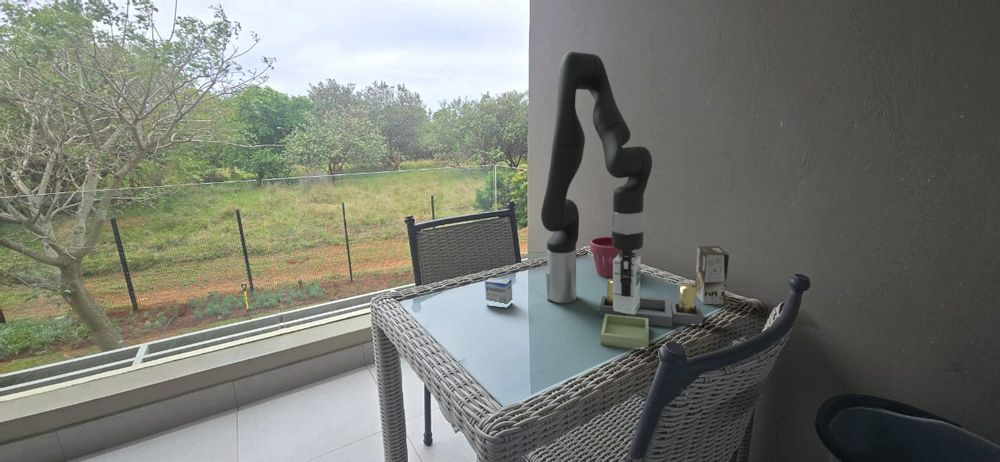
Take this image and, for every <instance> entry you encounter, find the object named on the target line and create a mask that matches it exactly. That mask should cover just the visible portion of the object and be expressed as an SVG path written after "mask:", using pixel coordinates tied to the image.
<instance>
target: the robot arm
mask: <svg viewBox="0 0 1000 462" xmlns="http://www.w3.org/2000/svg"><path fill="white" fill-rule="evenodd" d="M577 90H582V91H583V90H585V91H587V90H588V91H589V93H590V94H591V95H592V97H593V99H594V107H593V112H592V122H593V126H594V129H595V131H596V133H597V136H598V137H599V140H600V142H601V144H602V149H603V156H604V162H605V163H604V164H605V169H606V171H607V172H608V173H609V174H610V175H611V176H612V177H613V178H617V179H623V178H627V180H626V183H625V184H623V185H621V186H619V187H617V188H616V189H614V191H613V200H612V201H613V203H612V204H613V206H612V207H613V209H612V210H613V211H612V218H611V219H612V220H611V237H612V246H613V247H614V248H616V249H620V250H622V252H619V259H622V261H621V262H620V264H619V272H620V273H621V279H620V281H621V295H622V296H625V297H630V295H631V282H632V280H631V274H633V272H634V270H633V269H631V265H632V263H631V260H635V254H636V252H634V251H637V250H641V249H642V248H643V246H644V230H645V229H644V228H645V219H644V218H645V217H644V194H645V191H646V189H647V185H648V181H649V179H650V176H651V172H652V168H653V158H652V154H651V152H650V150H649V149H648V148H647V147H646V146H629V147H623V146H625V145H626V144H627V143H628V142H629V141H630V139H631V136H632V135H631V131H630V128H629V126H628V124H627V122H626V121H625V119H624V118H623V115H622V113H621V112H620V110H619V108H618V106H617V102H616V100H615V97H614V94H613V89H612V87H611V84H610V80H609V77H608V74H607V70H606V68H605V65H604V62H603V60H602V59H601V57H600V56H598V55H597V54H593V53H586V52H578V51H567V52H566V53H565V54H564V55H563V57H562V59H561V61H560V64H559V69H558V79H557V97H556V98H557V103H556V105H557V106H556V116H555V123H554V133H553V139H552V146H551V155H550V163H549V171H548V176H547V178H548V179H547V185H546V190H545V194H544V199H543V202H542V203H543V204H542V207H541V212H540V216H541V217H540V218H541V219H540V220H541V223H542V225H543V227H544V229H546V230H547V231H549V232H553V234H552V235H551V236H550V238H549V239H548V240H547V243H546V251H547V252H546V254H547V272H546V276H545V277H546V300H547V299H549V300H548V301H551V300H552V301H551V302H553V301H554V302H553V303H556V302H557V304H569V303H573V302H575V301H576V300H577V242H578V240H579V229H580V225H579V224H580V214H579V213H580V212H579V209H578V206H577V205H576V203H575V202H574V201H573V200H571V199H569V198H567V194H568V191H569V189H570V187H571V184H572V181H573V179H574V178H575V177H576V174H577V173H578V171H579V169H580V166H581V164H582V161H583V156H584V151H585V145H586V143H585V141H586V136H585V133H584V129H583V127H582V124H581V121H580V118H579V117H578V113H577V109H576V96H577ZM623 275H629V278H623Z"/></svg>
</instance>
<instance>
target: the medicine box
mask: <svg viewBox="0 0 1000 462" xmlns="http://www.w3.org/2000/svg"><path fill="white" fill-rule="evenodd" d="M484 288H485V289H484V290H485V301H486V300H489V301H494V302H499V303H504V304H508V303H509V302H510V301H511V300H513V283H512V279H509V278H498V277H489V278H488V279H486V280H485V281H484Z"/></svg>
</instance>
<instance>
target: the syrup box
mask: <svg viewBox="0 0 1000 462" xmlns="http://www.w3.org/2000/svg"><path fill="white" fill-rule="evenodd" d="M641 258H642V257H641V255H640V254H636V253H635V260H631V263H632V265H631V269H633V270H634V272H633V274H631V280H632V282H631V295H630V297H625V296H622V295H621V281H620V279H621V273H620V272H619V264H620V262H621V261H622V259H619V254H618V255H617V256H616V257H615V258H614V259H613V277H612V278H613V310H614V311H617V312H622V313H626V315H627V314H633V315H635V313H636V312H637V311H639V308H641V307H640V296H641V269H642V268H641V266H642V265H641ZM623 278H629V275H623Z"/></svg>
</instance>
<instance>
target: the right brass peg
mask: <svg viewBox="0 0 1000 462" xmlns="http://www.w3.org/2000/svg"><path fill="white" fill-rule="evenodd" d="M678 303H679V313H687V314H694V308H695V304H696V286H695V284H692V283H681V284H680V286H679V298H678Z"/></svg>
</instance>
